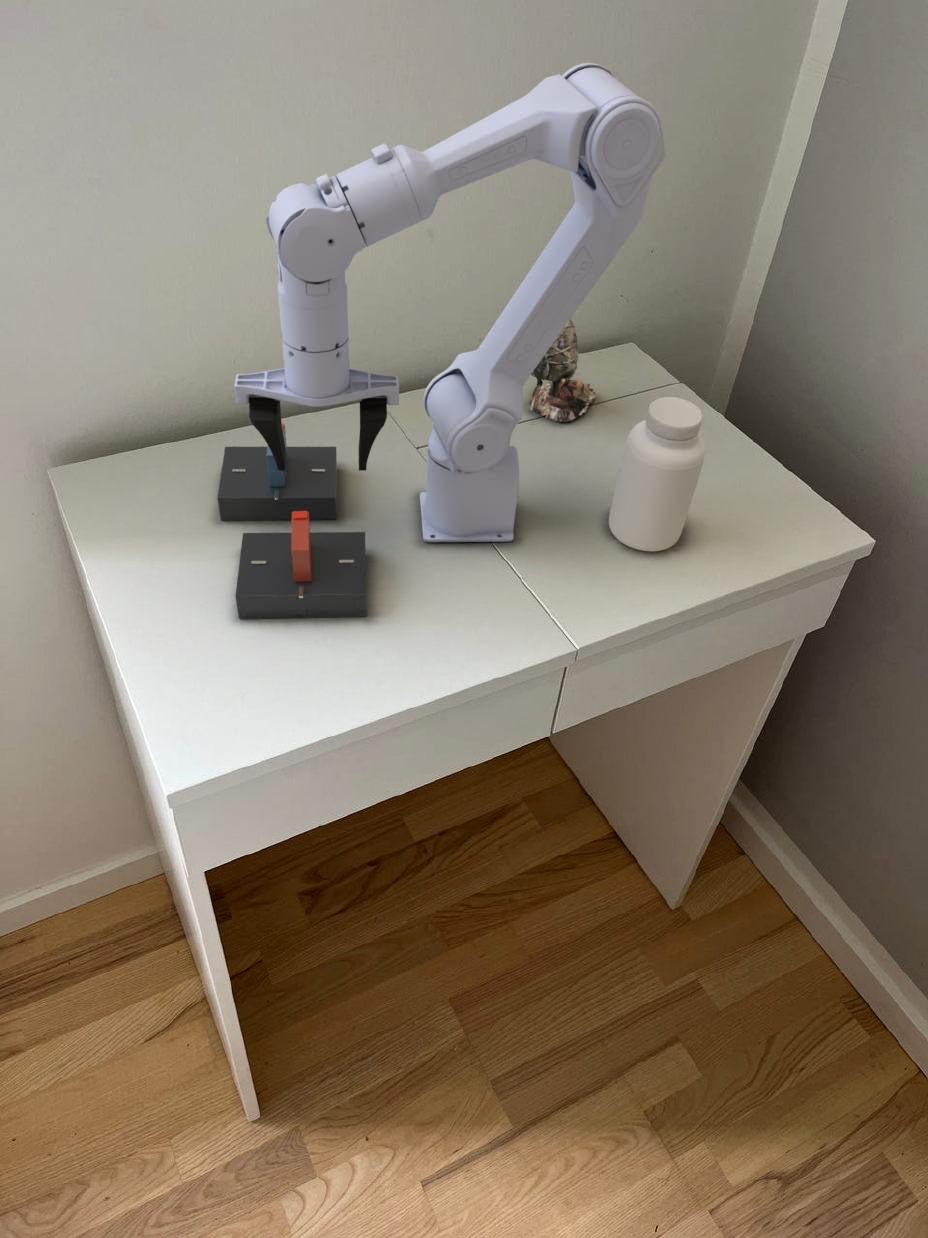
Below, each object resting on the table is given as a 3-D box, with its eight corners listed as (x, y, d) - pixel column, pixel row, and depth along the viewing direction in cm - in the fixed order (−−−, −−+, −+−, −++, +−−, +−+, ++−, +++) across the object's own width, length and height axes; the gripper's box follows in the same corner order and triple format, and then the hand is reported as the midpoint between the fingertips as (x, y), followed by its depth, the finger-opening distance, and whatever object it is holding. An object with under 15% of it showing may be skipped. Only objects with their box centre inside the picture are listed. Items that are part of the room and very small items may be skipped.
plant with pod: (500, 403, 118) (516, 245, 104) (568, 377, 123) (592, 224, 109) (542, 435, 114) (564, 275, 99) (611, 407, 119) (641, 252, 104)
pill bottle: (679, 559, 99) (715, 440, 88) (603, 546, 100) (630, 426, 89) (682, 513, 105) (717, 395, 94) (610, 500, 105) (636, 382, 95)
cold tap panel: (337, 466, 107) (336, 443, 104) (336, 522, 100) (335, 498, 98) (228, 466, 105) (225, 443, 103) (220, 522, 99) (216, 498, 96)
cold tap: (285, 486, 99) (282, 453, 96) (269, 486, 99) (266, 453, 96) (287, 455, 103) (284, 422, 100) (272, 455, 102) (269, 422, 99)
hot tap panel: (365, 551, 97) (365, 528, 95) (366, 619, 90) (366, 595, 88) (246, 553, 96) (242, 529, 93) (238, 621, 89) (234, 597, 87)
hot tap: (311, 581, 89) (309, 547, 86) (294, 582, 89) (291, 548, 86) (311, 543, 93) (308, 509, 90) (294, 543, 93) (291, 509, 90)
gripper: (397, 314, 85) (396, 440, 95) (233, 311, 84) (248, 439, 93) (400, 354, 80) (398, 483, 90) (226, 353, 79) (243, 483, 88)
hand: (322, 464), depth 91 cm, fingers open, 7 cm apart
